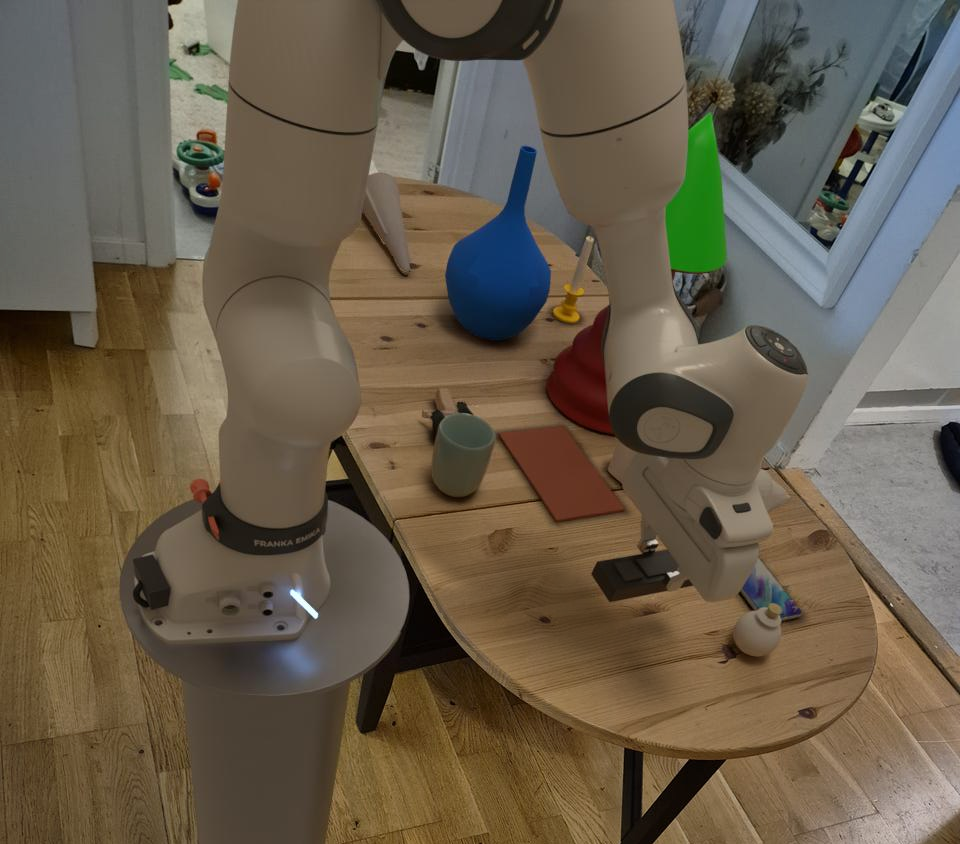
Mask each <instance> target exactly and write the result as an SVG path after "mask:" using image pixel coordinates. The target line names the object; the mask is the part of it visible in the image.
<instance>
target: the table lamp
mask: <svg viewBox="0 0 960 844" xmlns="http://www.w3.org/2000/svg"><path fill="white" fill-rule="evenodd" d="M717 143H718V142H717V137H716V132H715V126H714V121H713V114H712V111H710V112H708V113H707V114H706V115H705V116H703V117H702V118H701V119H700V120H699V121H697V122H696V123H695V124H694V125H692V126H691V127H690V128H688V149H687V163H686V173H685V179H684V182H683V184H682V186H681V187H680V189H679V191H678V192H677V194H676V195H675V196H674V198H673V199H672V200H671V201H670V202H669V203H668V204H667V205H666V211H665V223H666V233H667V241H668V249H669V258H670V266H671V274H672V281H673V282H674V281H675V276H676V273H681V274H688V275H704V274H711V273H714V272H716V271H719V270H720V269H721V268H722V267H723V266H725V264H726V262H727V259H728V258H727V255H728V253H727V240H726V239H727V238H726V225H725V224H726V223H725V209H724V207H725V206H724V194H723V193H724V192H723V180H722V178H723V177H722V171H721V164H720V158H719V151H718V144H717ZM608 310H609V304H608V305H607V306H605V307H603V308H602V309H601V310H600V311H599V312H598V313H597V315H595V317H594V320H593V323H592V324H591V325H588V326H585V327H584V328H582V329H581V330H580V331H579V332H577V333H576V335H575V337H574V338H573V340H572V344H571V345H569V346H567V347H566V348H564V349H563V350H561V351H560V352H559V353H558V354H557V355H556V357H555V359H554V363H553V370H552V372H550V374H549V376H548V377H547V380H546V391H547V394H548V397H549V399H550V401H551V402H552V403H553V404H554V406H555V407H556V408H557V409H558V410H559V411H560V412H561V413H562V414H563V415H565V416H566V417H567V418H569V419H570V420H572V421H573V422H575V423H577V424H578V425H580V426H582V427H584V428H587V429H590V430H593V431H596V432H599V433H603V434H604V433H605V434H609V435H614V433H613V431H612V429H611V426H610V421H609V412H608V402H607V388H606V376H605V367H604V363H603V358H602V353H601V339H602V333H603V329H604V325H605V321H606V318H607V314H608Z"/></svg>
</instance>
